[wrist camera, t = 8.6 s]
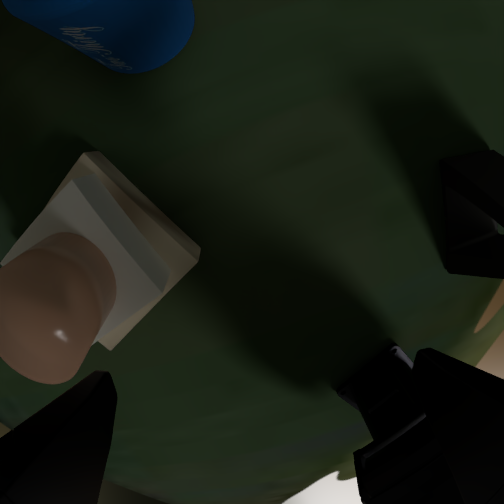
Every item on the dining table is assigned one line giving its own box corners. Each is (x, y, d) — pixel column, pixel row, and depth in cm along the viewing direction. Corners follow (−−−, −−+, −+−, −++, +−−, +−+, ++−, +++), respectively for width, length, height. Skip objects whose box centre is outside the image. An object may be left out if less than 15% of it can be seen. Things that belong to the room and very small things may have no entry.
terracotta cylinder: (136, 279, 15) (105, 336, 10) (87, 341, 16) (54, 401, 11) (57, 210, 13) (-1, 241, 9) (18, 282, 14) (-31, 327, 10)
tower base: (201, 245, 21) (198, 261, 18) (121, 327, 22) (110, 350, 19) (102, 150, 18) (83, 152, 15) (34, 247, 20) (13, 261, 17)
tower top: (171, 269, 18) (162, 293, 15) (94, 328, 19) (78, 354, 16) (95, 172, 16) (71, 179, 13) (25, 246, 17) (0, 263, 14)
